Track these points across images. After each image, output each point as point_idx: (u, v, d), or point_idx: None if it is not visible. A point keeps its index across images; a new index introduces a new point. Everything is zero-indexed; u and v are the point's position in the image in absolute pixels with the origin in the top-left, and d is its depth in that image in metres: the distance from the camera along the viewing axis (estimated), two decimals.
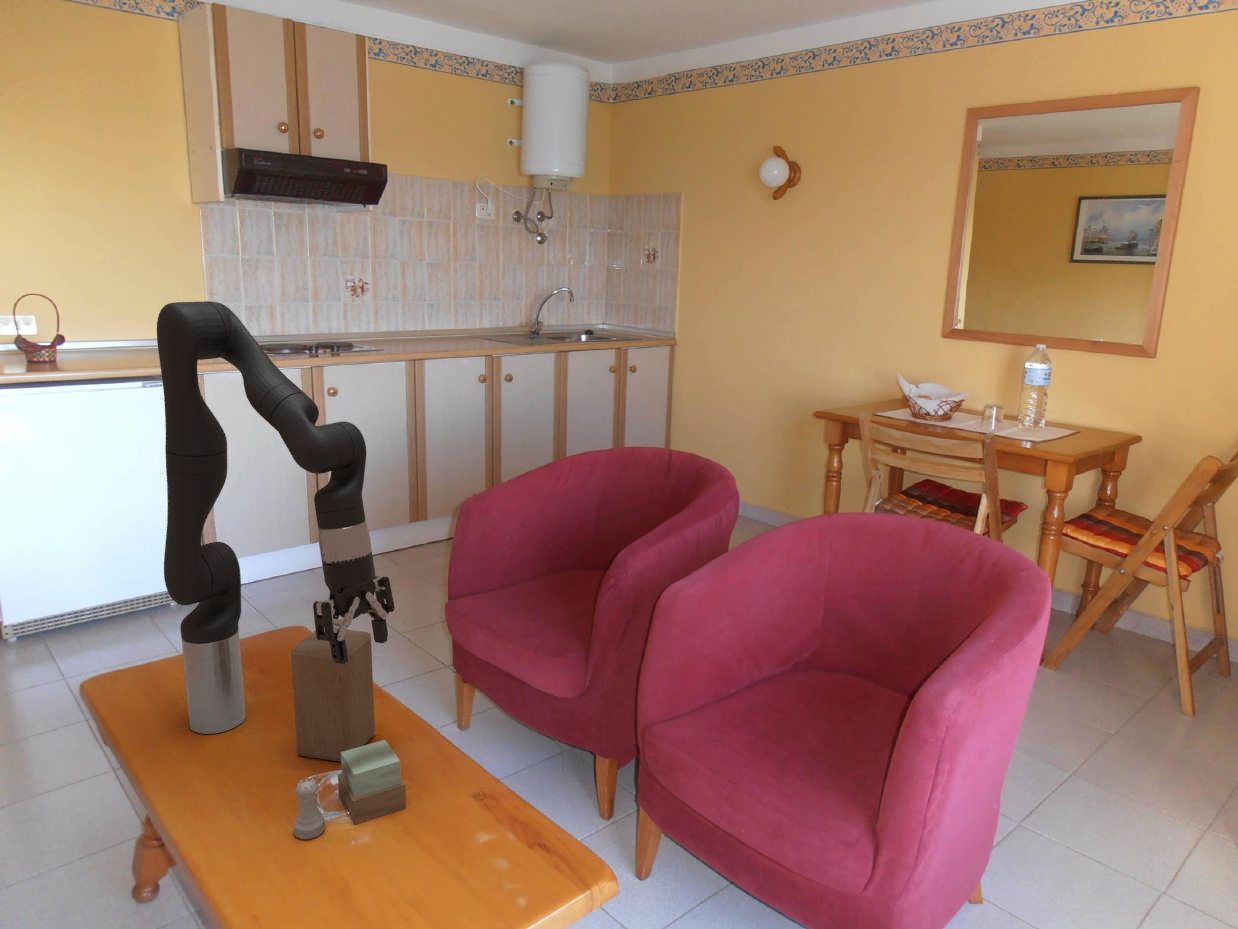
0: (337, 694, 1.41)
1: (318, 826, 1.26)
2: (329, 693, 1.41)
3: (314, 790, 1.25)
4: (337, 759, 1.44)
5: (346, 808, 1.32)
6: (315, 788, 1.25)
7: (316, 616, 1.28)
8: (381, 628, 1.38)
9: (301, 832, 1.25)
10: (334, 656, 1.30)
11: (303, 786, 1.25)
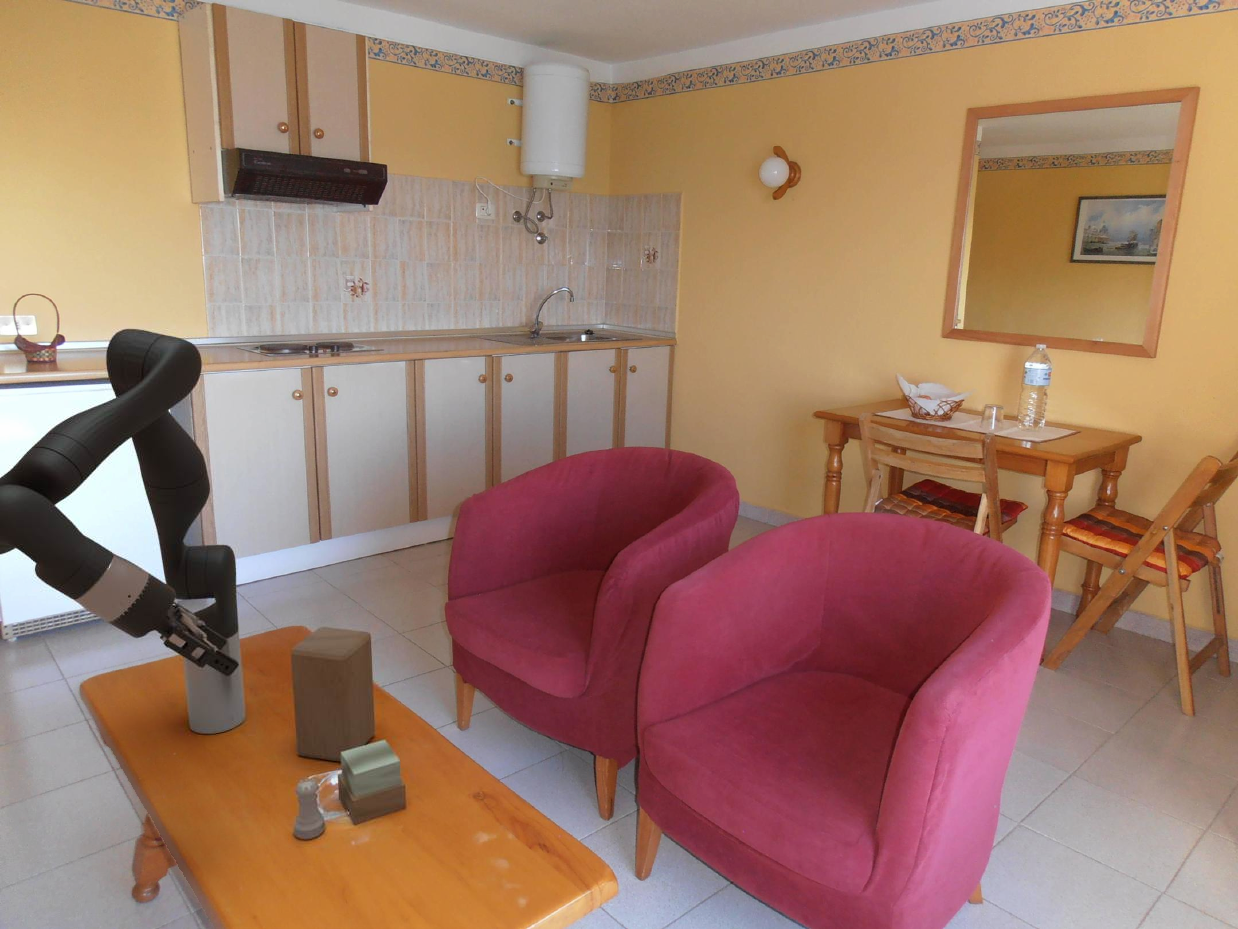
0: (337, 694, 1.41)
1: (318, 826, 1.26)
2: (329, 693, 1.41)
3: (314, 790, 1.25)
4: (337, 759, 1.44)
5: (346, 808, 1.32)
6: (315, 788, 1.25)
7: None
8: None
9: (301, 832, 1.25)
10: None
11: (303, 786, 1.25)
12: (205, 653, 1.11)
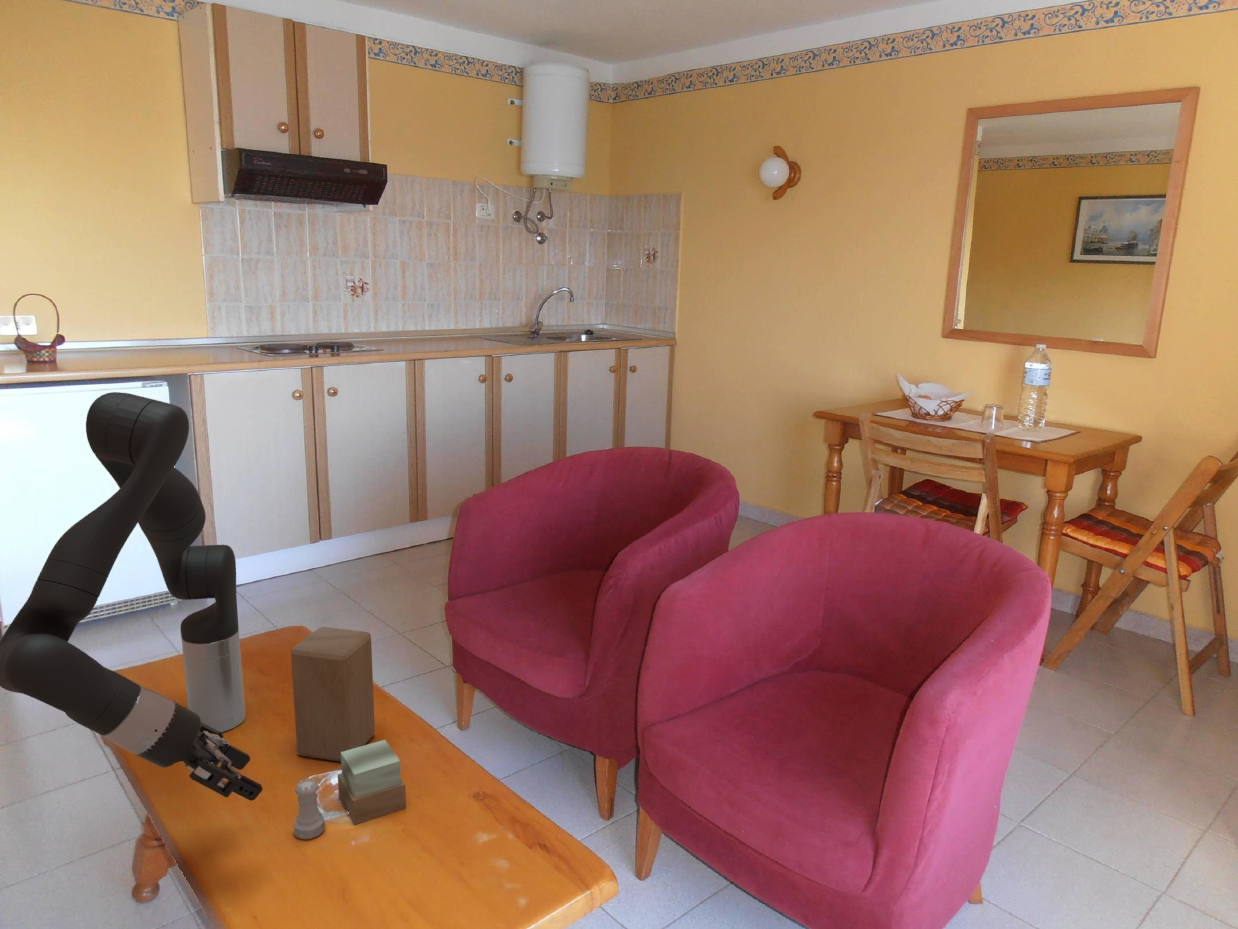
0: (337, 694, 1.41)
1: (318, 826, 1.26)
2: (329, 693, 1.41)
3: (314, 790, 1.25)
4: (337, 759, 1.44)
5: (346, 808, 1.32)
6: (315, 788, 1.25)
7: None
8: None
9: (301, 832, 1.25)
10: None
11: (303, 786, 1.25)
12: (230, 783, 1.12)
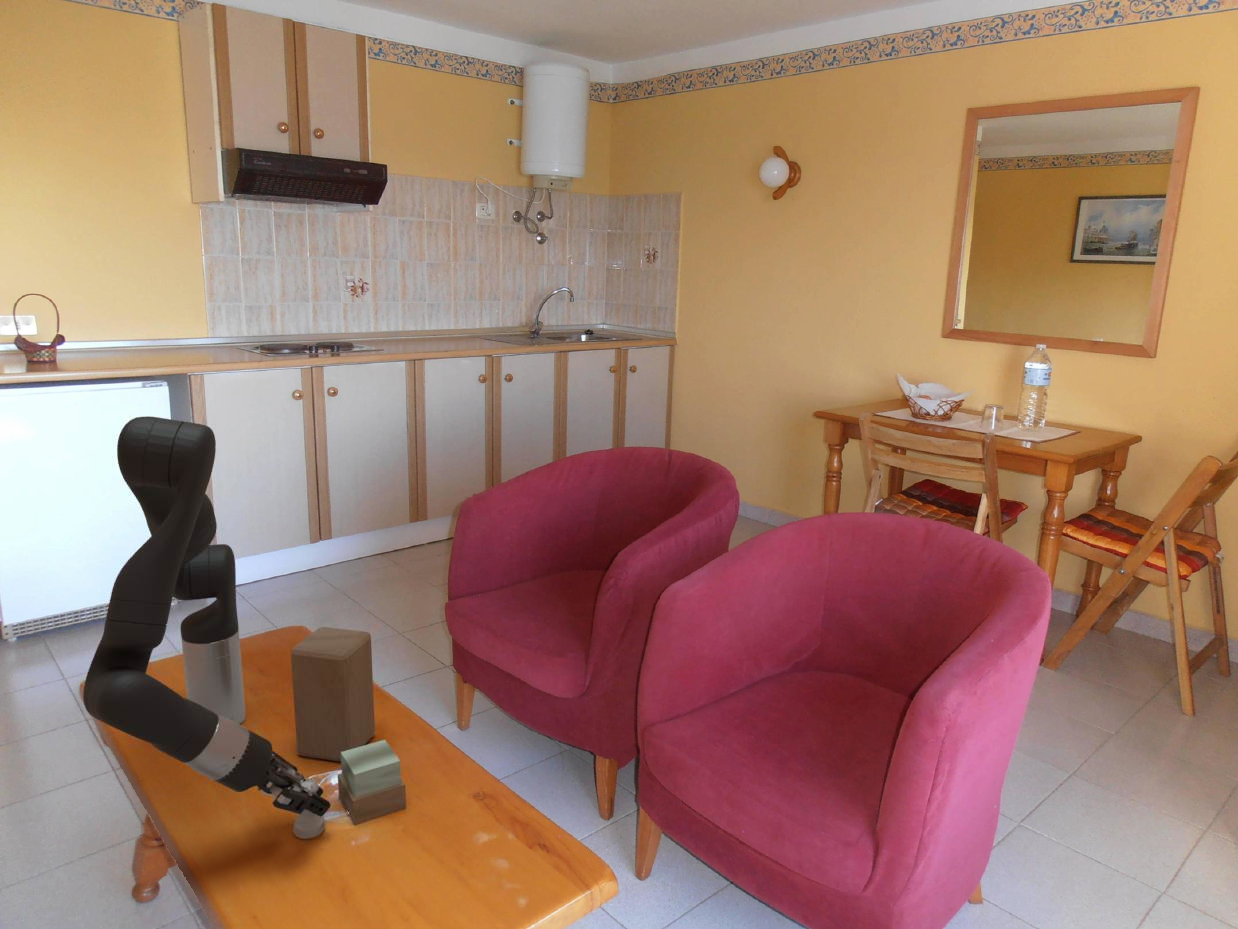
0: (337, 694, 1.41)
1: (318, 826, 1.26)
2: (329, 693, 1.41)
3: (314, 790, 1.25)
4: (337, 759, 1.44)
5: (346, 808, 1.32)
6: (315, 788, 1.25)
7: None
8: None
9: (301, 832, 1.25)
10: None
11: (303, 786, 1.25)
12: (303, 801, 1.21)
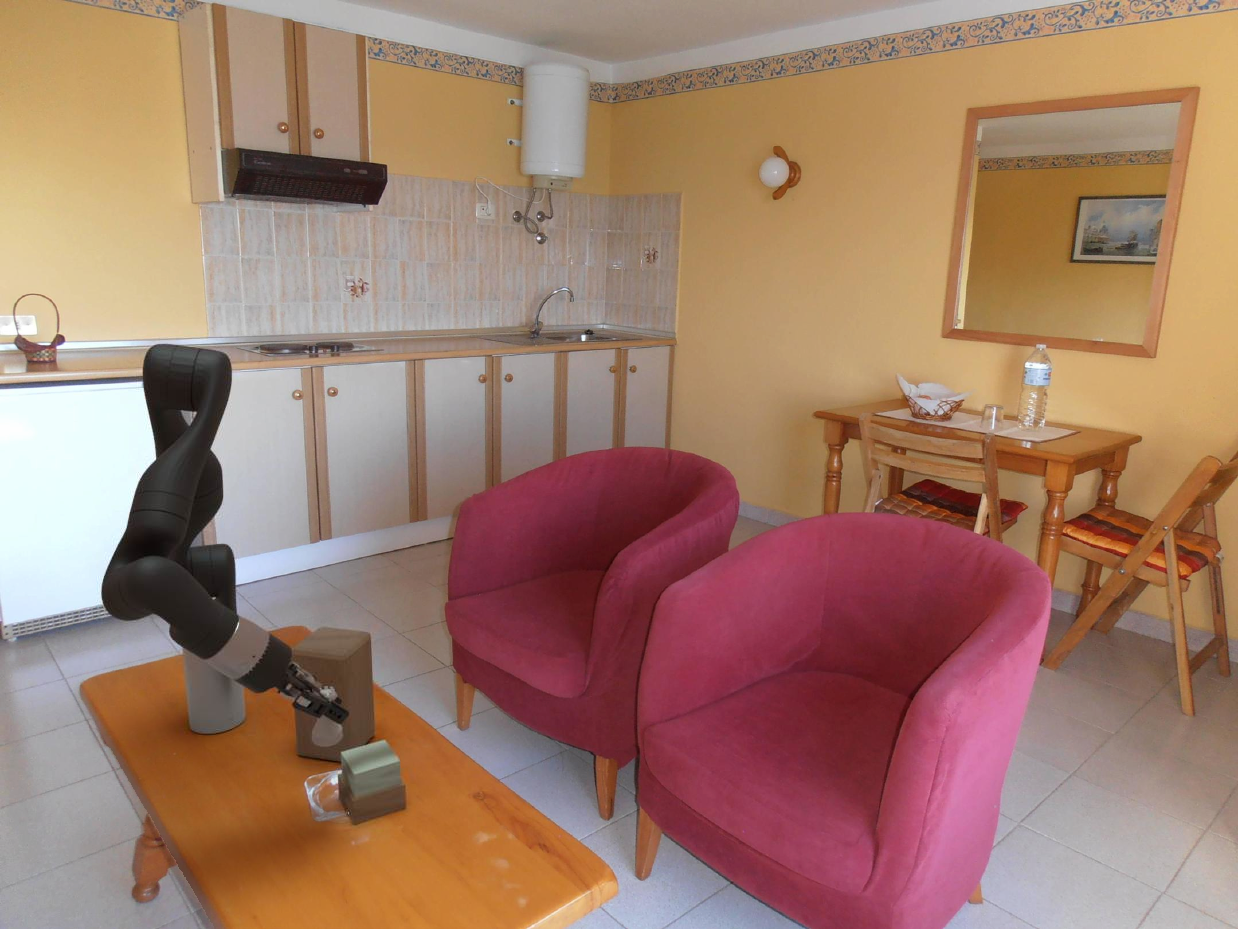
0: (337, 694, 1.41)
1: (336, 734, 1.25)
2: None
3: (333, 697, 1.24)
4: (337, 759, 1.44)
5: (346, 808, 1.32)
6: (334, 695, 1.25)
7: None
8: None
9: (319, 739, 1.25)
10: None
11: None
12: (322, 705, 1.20)
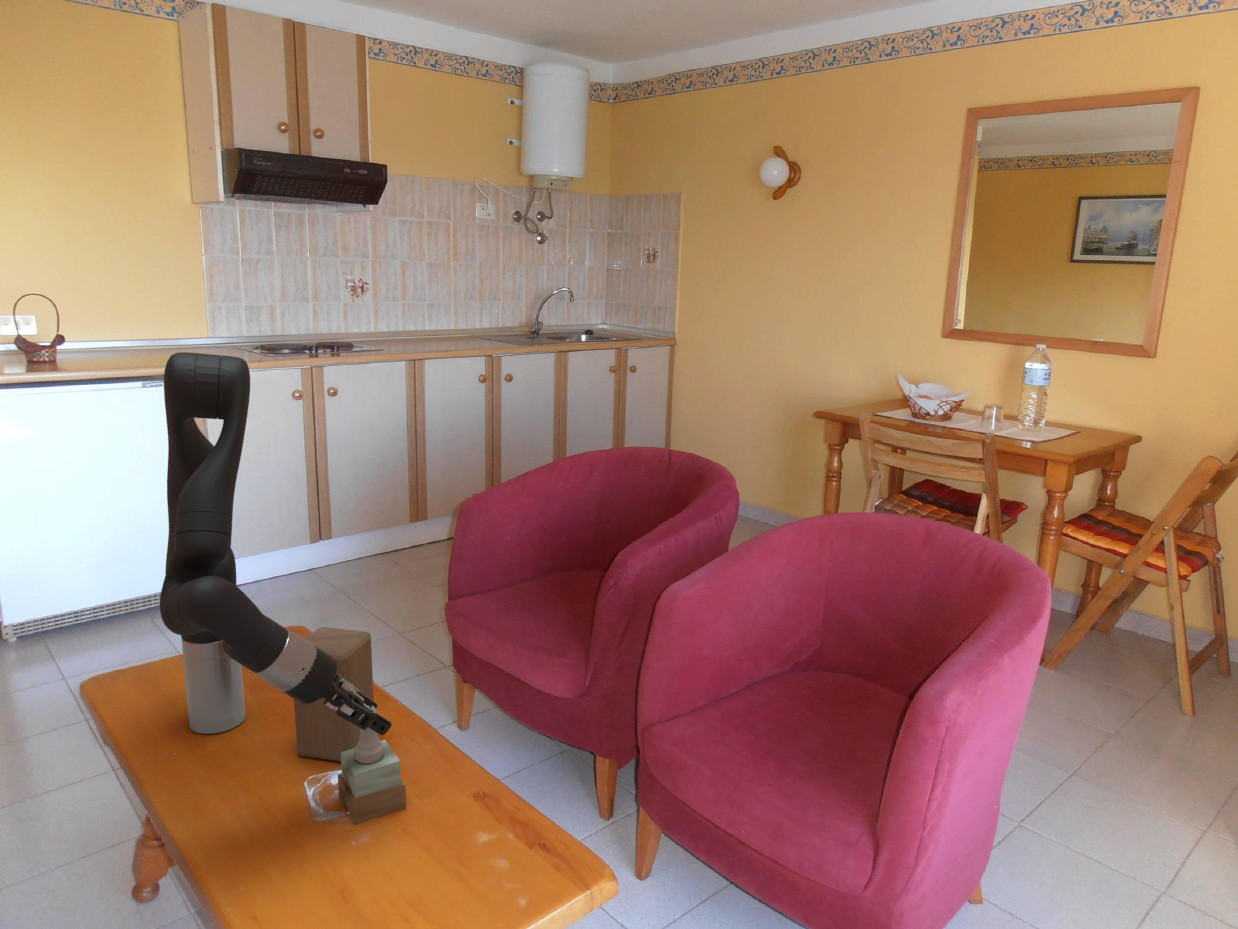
0: None
1: (378, 751, 1.31)
2: None
3: None
4: (337, 759, 1.44)
5: (346, 808, 1.32)
6: None
7: None
8: None
9: (362, 756, 1.30)
10: None
11: None
12: (367, 717, 1.24)
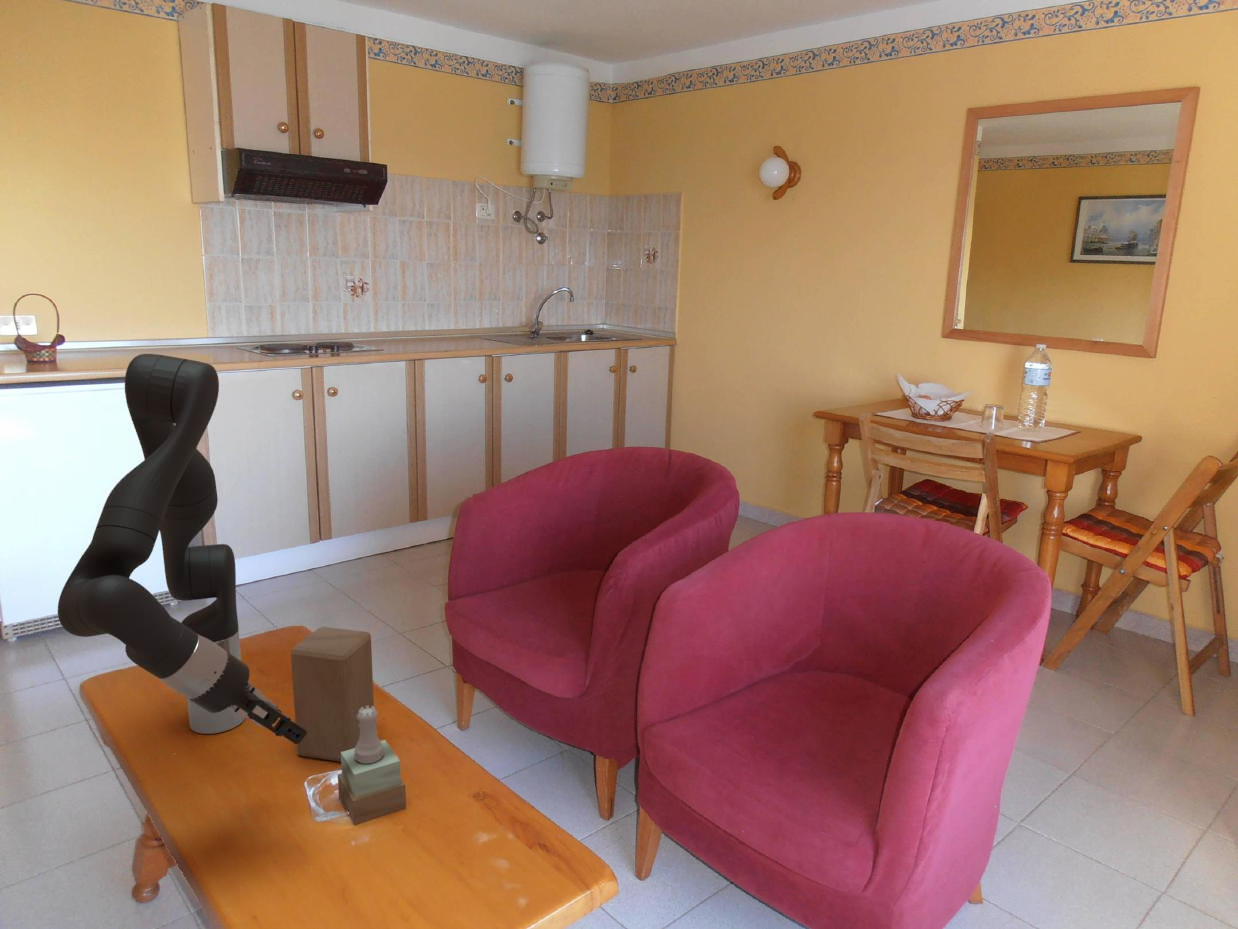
0: (337, 694, 1.41)
1: (378, 751, 1.31)
2: (329, 693, 1.41)
3: (375, 716, 1.30)
4: (337, 759, 1.44)
5: (346, 808, 1.32)
6: (375, 714, 1.30)
7: None
8: None
9: (362, 756, 1.30)
10: None
11: (364, 712, 1.30)
12: (283, 723, 1.18)
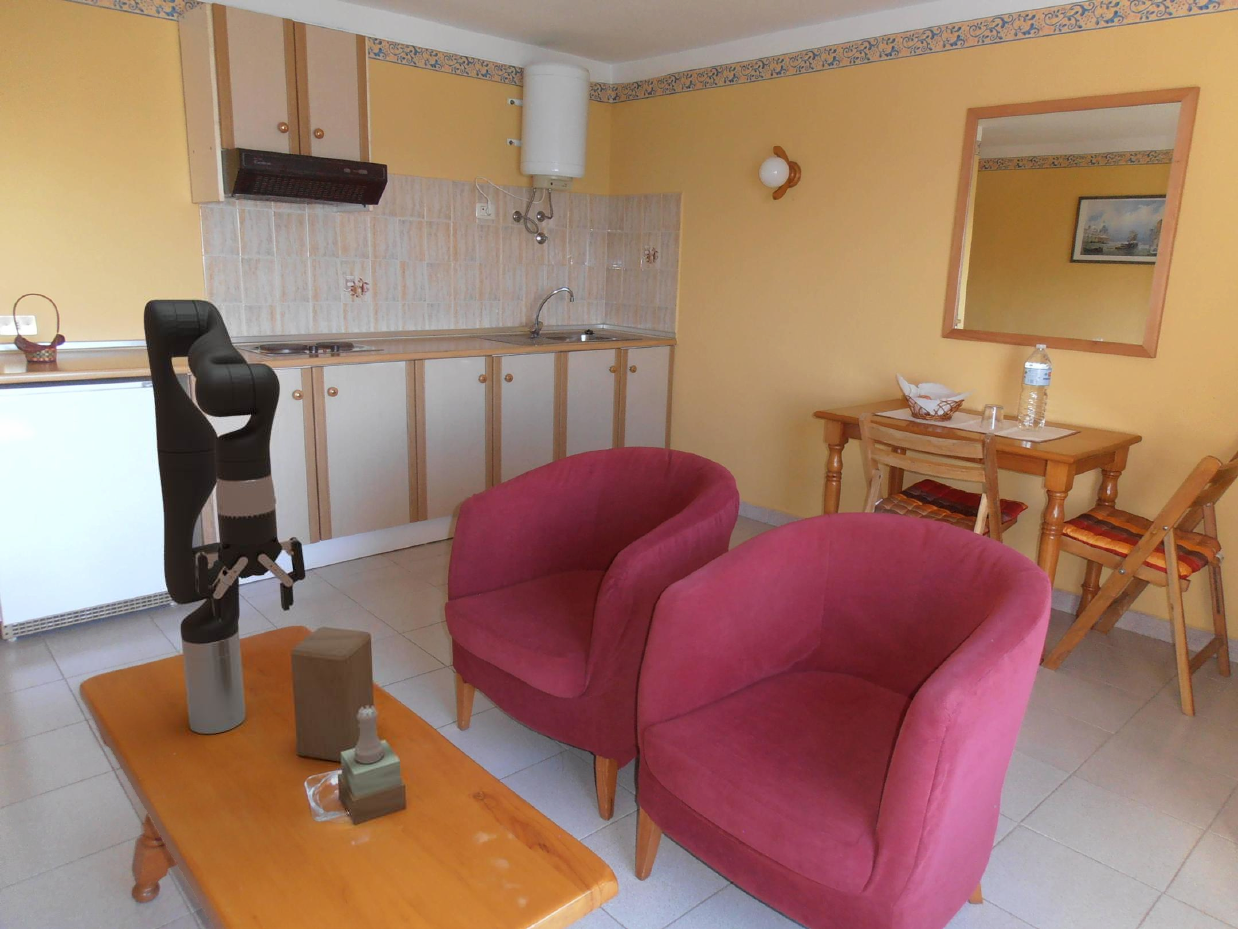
0: (337, 694, 1.41)
1: (378, 751, 1.31)
2: (329, 693, 1.41)
3: (375, 716, 1.30)
4: (337, 759, 1.44)
5: (346, 808, 1.32)
6: (375, 714, 1.30)
7: (196, 566, 1.19)
8: (283, 595, 1.25)
9: (362, 756, 1.30)
10: (214, 612, 1.21)
11: (364, 712, 1.30)
12: None
